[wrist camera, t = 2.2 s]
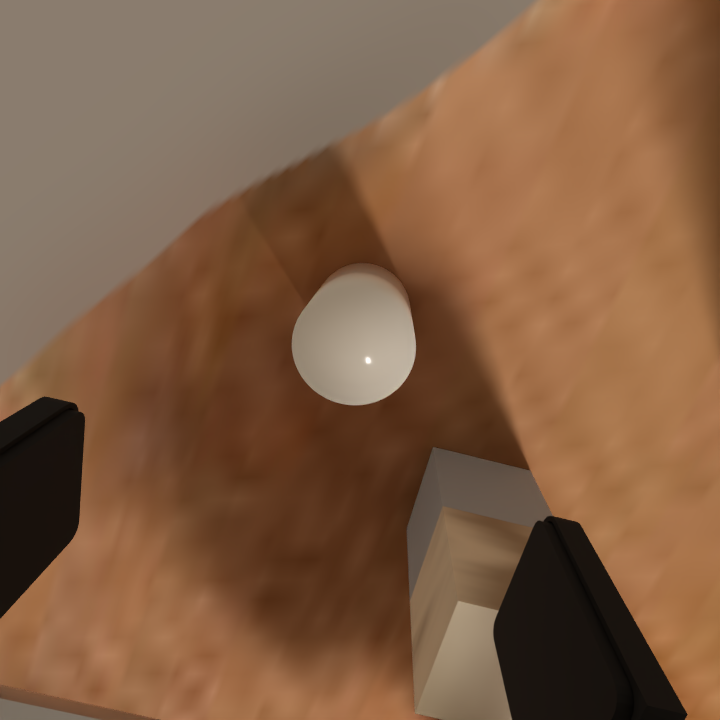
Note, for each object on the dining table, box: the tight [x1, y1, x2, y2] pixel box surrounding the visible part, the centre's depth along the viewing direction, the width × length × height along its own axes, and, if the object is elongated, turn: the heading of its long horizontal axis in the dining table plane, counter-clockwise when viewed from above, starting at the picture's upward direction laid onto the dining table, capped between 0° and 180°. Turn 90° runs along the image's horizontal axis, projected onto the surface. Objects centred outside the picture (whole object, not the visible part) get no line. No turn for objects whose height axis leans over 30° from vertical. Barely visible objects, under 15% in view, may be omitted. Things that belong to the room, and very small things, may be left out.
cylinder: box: [292, 263, 416, 405], centre depth 24 cm, size 5×5×7 cm
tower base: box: [407, 447, 553, 599], centre depth 28 cm, size 6×6×6 cm
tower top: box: [410, 506, 533, 720], centre depth 23 cm, size 6×6×6 cm
